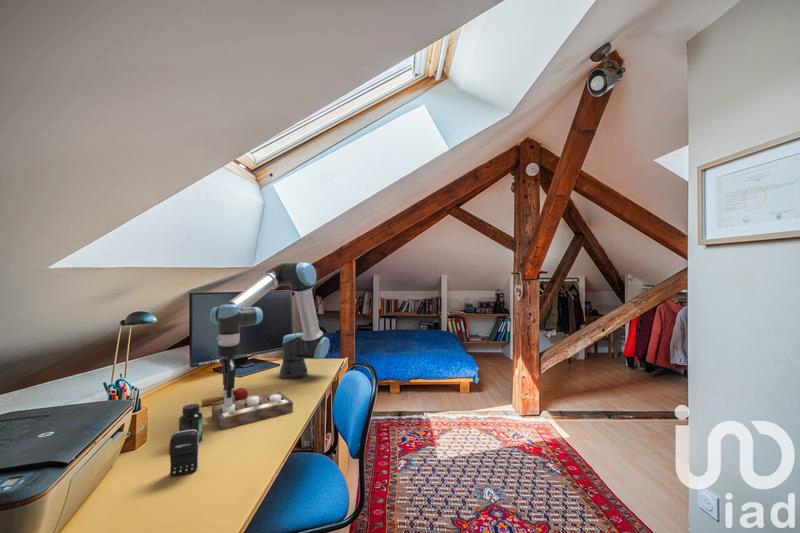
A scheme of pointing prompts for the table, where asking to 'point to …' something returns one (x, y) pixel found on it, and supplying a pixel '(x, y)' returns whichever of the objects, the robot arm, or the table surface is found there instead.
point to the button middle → (252, 401)
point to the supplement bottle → (191, 419)
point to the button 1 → (228, 408)
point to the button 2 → (275, 397)
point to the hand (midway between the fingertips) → (228, 405)
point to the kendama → (237, 395)
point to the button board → (251, 411)
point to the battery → (184, 452)
